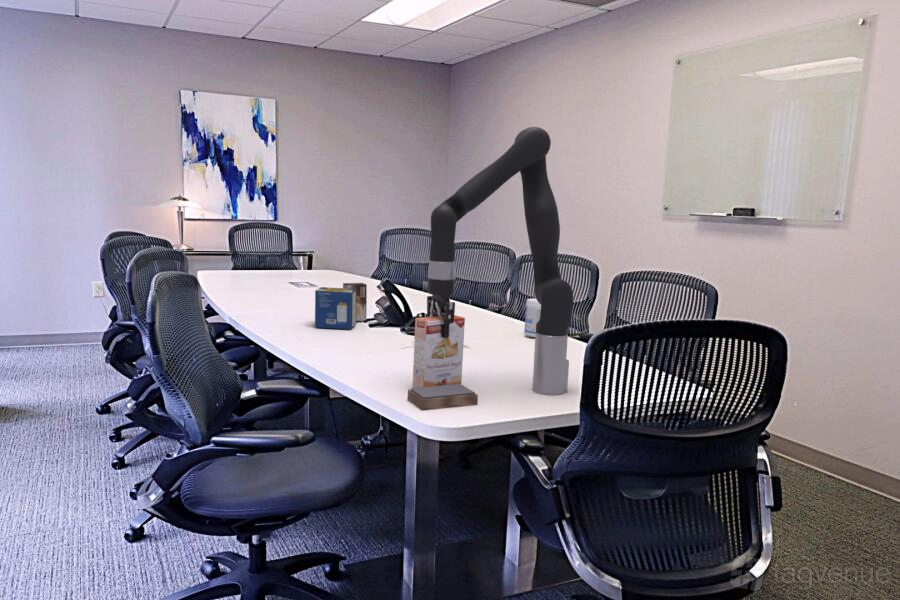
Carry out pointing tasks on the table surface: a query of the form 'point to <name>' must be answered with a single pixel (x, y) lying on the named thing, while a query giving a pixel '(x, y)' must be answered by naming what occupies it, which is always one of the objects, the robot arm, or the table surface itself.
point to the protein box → (335, 308)
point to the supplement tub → (532, 316)
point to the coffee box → (359, 299)
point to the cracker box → (437, 352)
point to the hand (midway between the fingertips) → (439, 335)
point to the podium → (442, 397)
